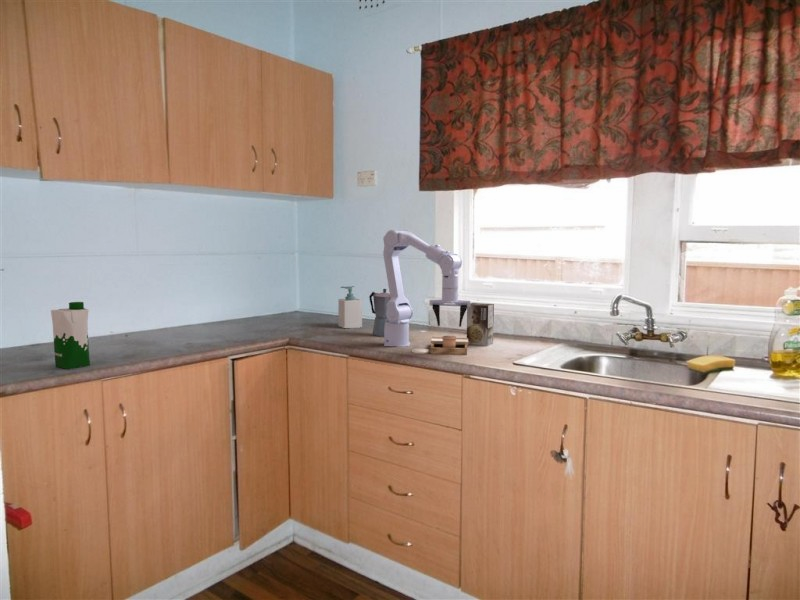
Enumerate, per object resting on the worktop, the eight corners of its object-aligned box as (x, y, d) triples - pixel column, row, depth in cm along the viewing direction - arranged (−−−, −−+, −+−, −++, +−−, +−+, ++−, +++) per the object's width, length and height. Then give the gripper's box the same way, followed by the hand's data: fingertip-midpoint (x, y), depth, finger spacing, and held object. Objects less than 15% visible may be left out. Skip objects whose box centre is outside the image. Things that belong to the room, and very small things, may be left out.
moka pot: (389, 338, 225) (389, 290, 223) (361, 334, 234) (361, 288, 232) (403, 335, 233) (403, 288, 230) (375, 331, 242) (375, 286, 240)
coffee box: (493, 344, 214) (494, 303, 213) (487, 347, 209) (488, 305, 207) (472, 342, 219) (473, 302, 217) (465, 344, 213) (466, 303, 212)
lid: (430, 343, 202) (430, 340, 202) (432, 339, 211) (432, 336, 210) (468, 344, 200) (468, 342, 200) (468, 340, 209) (468, 337, 209)
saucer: (410, 354, 195) (410, 351, 195) (412, 350, 201) (412, 348, 201) (428, 354, 194) (428, 352, 194) (430, 351, 200) (430, 348, 200)
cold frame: (430, 354, 194) (430, 347, 194) (432, 346, 210) (433, 339, 210) (467, 355, 193) (467, 348, 192) (466, 347, 208) (467, 340, 208)
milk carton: (94, 365, 174) (91, 302, 172) (64, 370, 166) (60, 305, 164) (80, 361, 179) (77, 300, 177) (50, 366, 171) (46, 303, 169)
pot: (441, 353, 195) (442, 337, 195) (442, 350, 200) (442, 335, 200) (455, 353, 195) (456, 338, 194) (456, 350, 200) (456, 335, 199)
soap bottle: (338, 326, 256) (337, 285, 254) (355, 325, 260) (355, 285, 258) (344, 328, 249) (343, 287, 246) (362, 327, 252) (362, 286, 250)
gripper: (429, 288, 192) (428, 327, 193) (470, 289, 190) (469, 328, 192) (430, 287, 199) (429, 324, 200) (470, 287, 197) (469, 325, 198)
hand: (449, 325), depth 196 cm, fingers open, 7 cm apart
